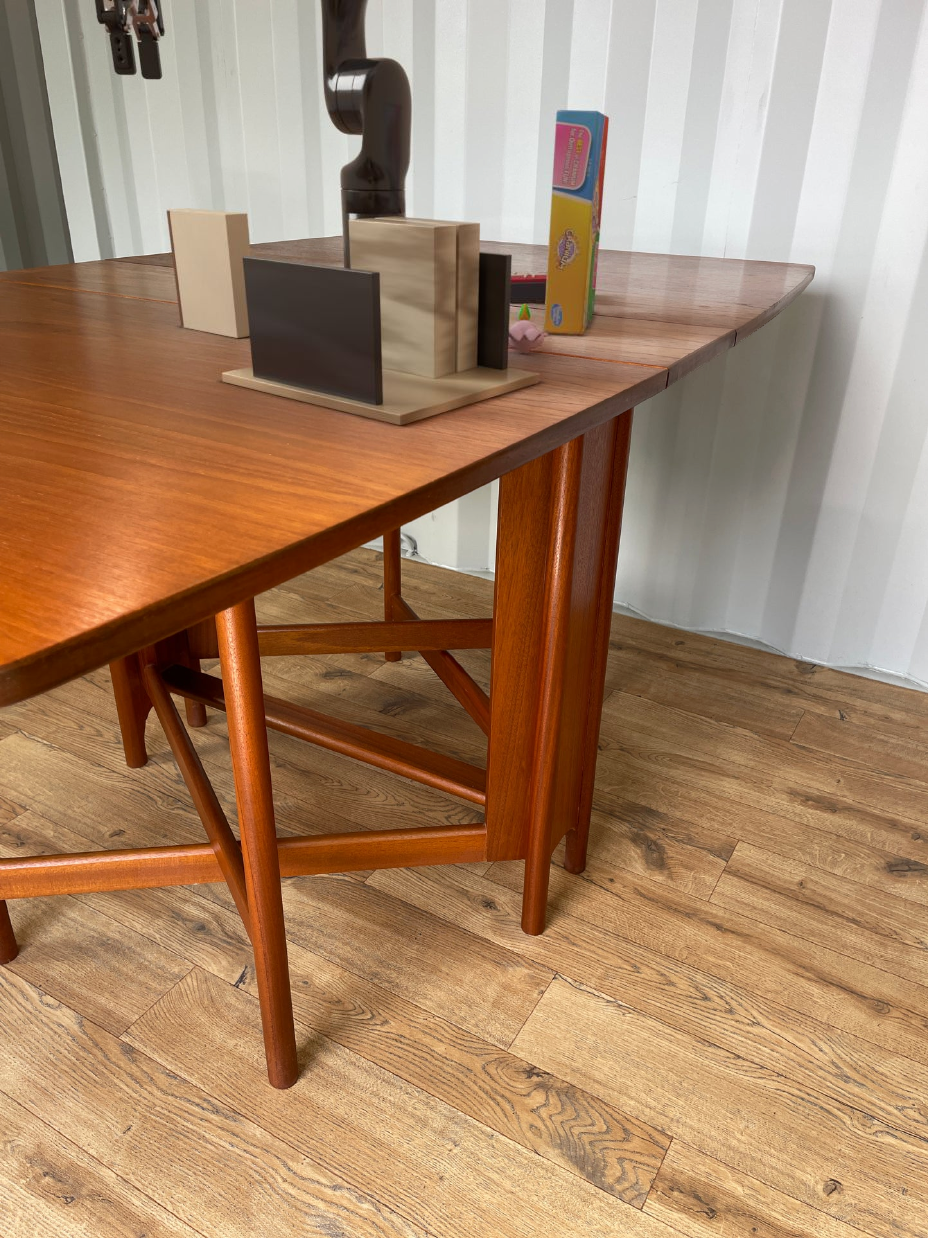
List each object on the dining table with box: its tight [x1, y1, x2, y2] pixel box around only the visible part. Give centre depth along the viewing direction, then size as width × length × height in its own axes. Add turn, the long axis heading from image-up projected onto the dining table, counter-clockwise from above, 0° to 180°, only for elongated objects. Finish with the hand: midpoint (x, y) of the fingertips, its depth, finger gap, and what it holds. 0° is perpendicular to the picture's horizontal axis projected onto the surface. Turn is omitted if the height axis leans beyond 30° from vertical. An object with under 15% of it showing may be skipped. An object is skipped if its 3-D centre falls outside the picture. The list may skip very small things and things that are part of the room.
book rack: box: [221, 216, 540, 426], centre depth 97 cm, size 23×26×16 cm
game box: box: [543, 109, 610, 335], centre depth 129 cm, size 21×6×27 cm, turn 168°
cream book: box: [166, 208, 252, 339], centre depth 122 cm, size 4×12×15 cm, turn 52°
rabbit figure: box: [508, 303, 549, 354], centre depth 115 cm, size 6×6×15 cm
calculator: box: [510, 269, 547, 303], centre depth 154 cm, size 11×4×15 cm
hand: (139, 76), depth 103 cm, fingers open, 8 cm apart
